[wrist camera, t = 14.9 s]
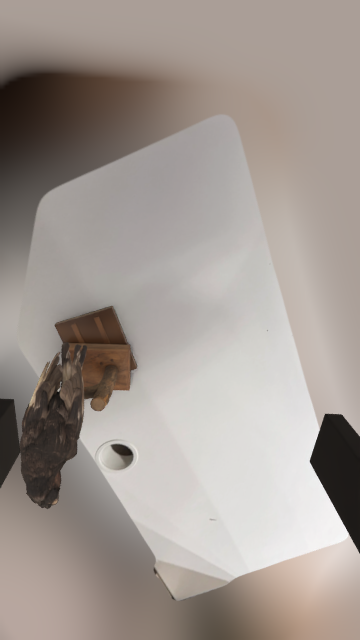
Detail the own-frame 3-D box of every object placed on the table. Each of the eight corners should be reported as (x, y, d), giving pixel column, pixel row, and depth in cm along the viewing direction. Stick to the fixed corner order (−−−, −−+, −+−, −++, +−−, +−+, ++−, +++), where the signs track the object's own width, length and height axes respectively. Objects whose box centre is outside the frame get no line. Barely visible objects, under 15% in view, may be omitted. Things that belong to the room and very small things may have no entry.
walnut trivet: (56, 322, 52) (54, 325, 51) (112, 305, 52) (111, 308, 51) (84, 381, 57) (83, 384, 56) (137, 365, 56) (136, 369, 55)
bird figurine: (130, 309, 51) (103, 406, 28) (130, 384, 56) (107, 517, 33) (62, 306, 50) (-23, 403, 27) (69, 382, 55) (1, 518, 32)
